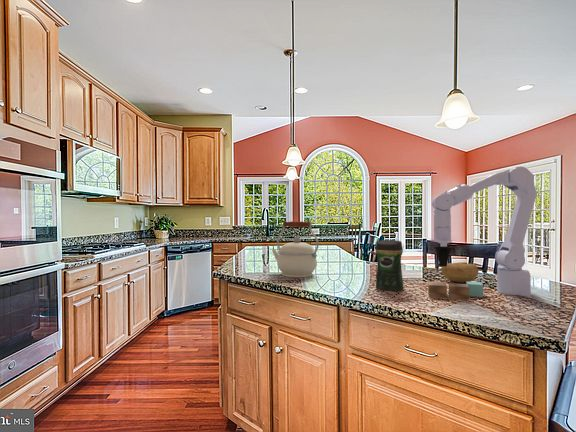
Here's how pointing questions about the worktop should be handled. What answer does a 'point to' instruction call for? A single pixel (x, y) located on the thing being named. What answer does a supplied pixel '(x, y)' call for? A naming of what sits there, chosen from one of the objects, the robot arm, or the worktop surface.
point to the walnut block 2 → (458, 291)
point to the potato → (460, 272)
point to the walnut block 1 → (437, 290)
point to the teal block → (475, 289)
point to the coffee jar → (389, 265)
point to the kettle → (296, 254)
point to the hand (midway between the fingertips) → (442, 264)
